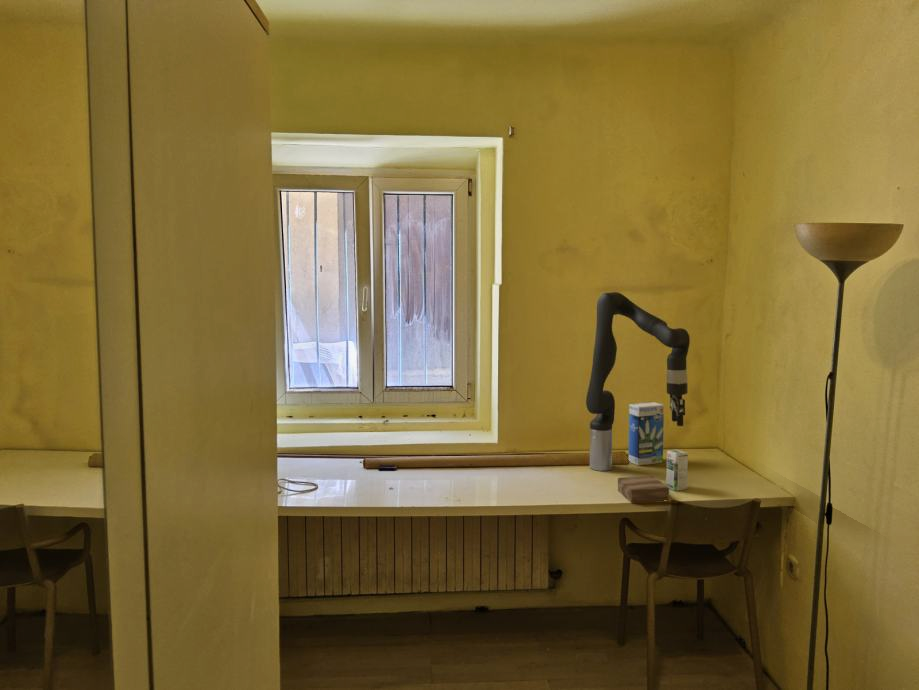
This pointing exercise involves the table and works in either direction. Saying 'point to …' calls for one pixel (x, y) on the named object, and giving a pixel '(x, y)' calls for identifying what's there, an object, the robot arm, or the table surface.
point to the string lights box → (646, 433)
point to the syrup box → (677, 470)
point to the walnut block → (643, 489)
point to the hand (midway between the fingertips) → (677, 423)
